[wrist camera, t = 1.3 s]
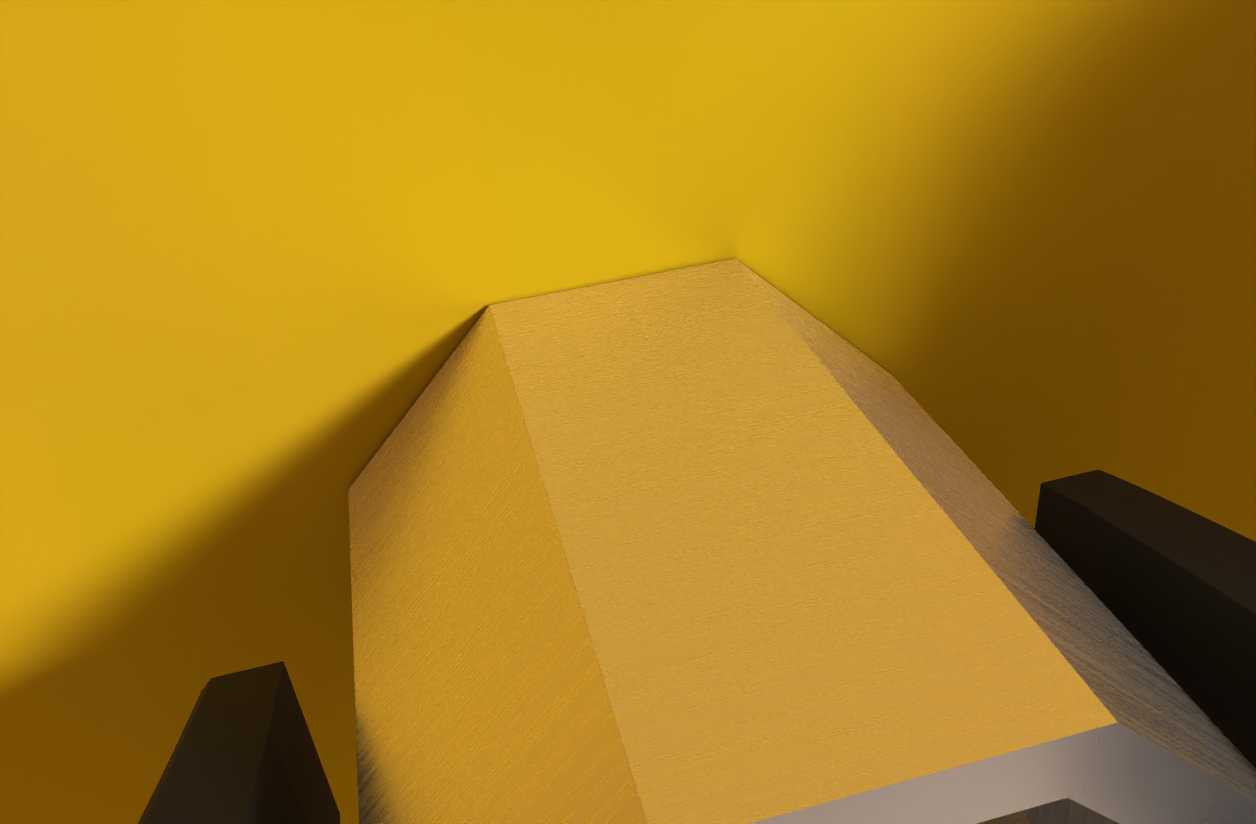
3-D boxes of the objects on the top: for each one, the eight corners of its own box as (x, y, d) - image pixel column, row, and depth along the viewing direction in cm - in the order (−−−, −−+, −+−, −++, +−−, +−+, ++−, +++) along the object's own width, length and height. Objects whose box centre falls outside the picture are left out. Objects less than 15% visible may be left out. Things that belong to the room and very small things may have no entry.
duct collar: (898, 228, 11) (1410, 643, 6) (878, 649, 14) (1195, 1156, 9) (305, 340, 10) (283, 951, 5) (427, 763, 13) (492, 1399, 8)
